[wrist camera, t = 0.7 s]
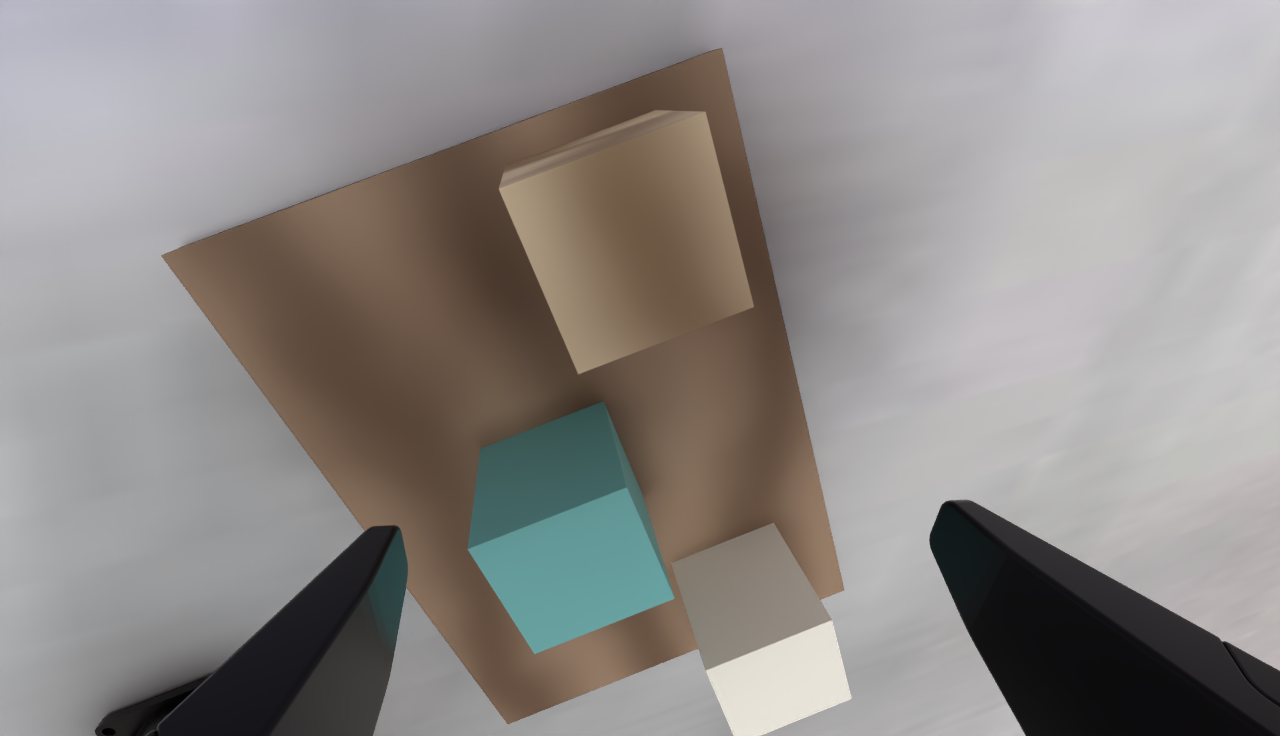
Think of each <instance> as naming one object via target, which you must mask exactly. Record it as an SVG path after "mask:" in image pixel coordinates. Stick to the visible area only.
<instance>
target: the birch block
mask: <svg viewBox="0 0 1280 736" xmlns="http://www.w3.org/2000/svg"><path fill="white" fill-rule="evenodd" d="M499 191H500V193H501V196H502V198H503V200H504V203H505V205H506V207H507V210H508V212H509V214H510V217H511V219H512V221H513V224H514V226H515V228H516V231H517V233H518V235H519V237H520V240H521V242H522V244H523V247H524V249H525V251H526V254H527V256H528V258H529V261H530V263H531V265H532V268H533V270H534V272H535V275H536V277H537V279H538V282H539V284H540V286H541V289H542V291H543V293H544V296H545V298H546V300H547V303H548V305H549V307H550V310H551V312H552V314H553V317H554V319H555V321H556V324H557V326H558V328H559V331H560V333H561V335H562V338H563V340H564V342H565V344H566V347H567V349H568V351H569V354H570V356H571V358H572V361H573V363H574V365H575V368H576V370H577V372H578V374H581V373H583V372H586V371H588V370H591V369H594V368H596V367H599V366H601V365H604V364H607V363H609V362H612V361H614V360H617V359H620V358H622V357H625V356H628V355H630V354H633V353H635V352H638V351H641V350H643V349H646V348H648V347H651V346H654V345H656V344H659V343H661V342H664V341H667V340H669V339H672V338H674V337H677V336H680V335H682V334H685V333H687V332H690V331H693V330H695V329H698V328H701V327H703V326H706V325H708V324H711V323H714V322H716V321H719V320H721V319H724V318H727V317H729V316H732V315H734V314H737V313H740V312H742V311H745V310H747V309H750V308H753V307H754V304H753V300H752V296H751V292H750V288H749V284H748V280H747V276H746V272H745V268H744V264H743V260H742V256H741V252H740V248H739V244H738V240H737V236H736V232H735V228H734V224H733V220H732V216H731V212H730V208H729V204H728V200H727V196H726V192H725V188H724V184H723V180H722V176H721V172H720V168H719V164H718V160H717V156H716V152H715V148H714V144H713V140H712V136H711V132H710V128H709V124H708V120H707V116H706V112H699V111H668V110H655V111H652V112H649V113H646V114H644V115H641V116H638V117H636V118H633V119H630V120H628V121H625V122H622V123H620V124H617V125H614V126H612V127H609V128H606V129H603V130H601V131H598V132H595V133H593V134H590V135H587V136H585V137H582V138H579V139H577V140H574V141H571V142H569V143H566V144H563V145H561V146H558V147H555V148H552V149H550V150H547V151H544V152H542V153H539V154H536V155H534V156H531V157H528V158H526V159H523V160H520V161H518V162H515V163H512V164H509V165H507V166H505V170H504V173H503V176H502V179H501V183H500V186H499Z"/></svg>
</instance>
